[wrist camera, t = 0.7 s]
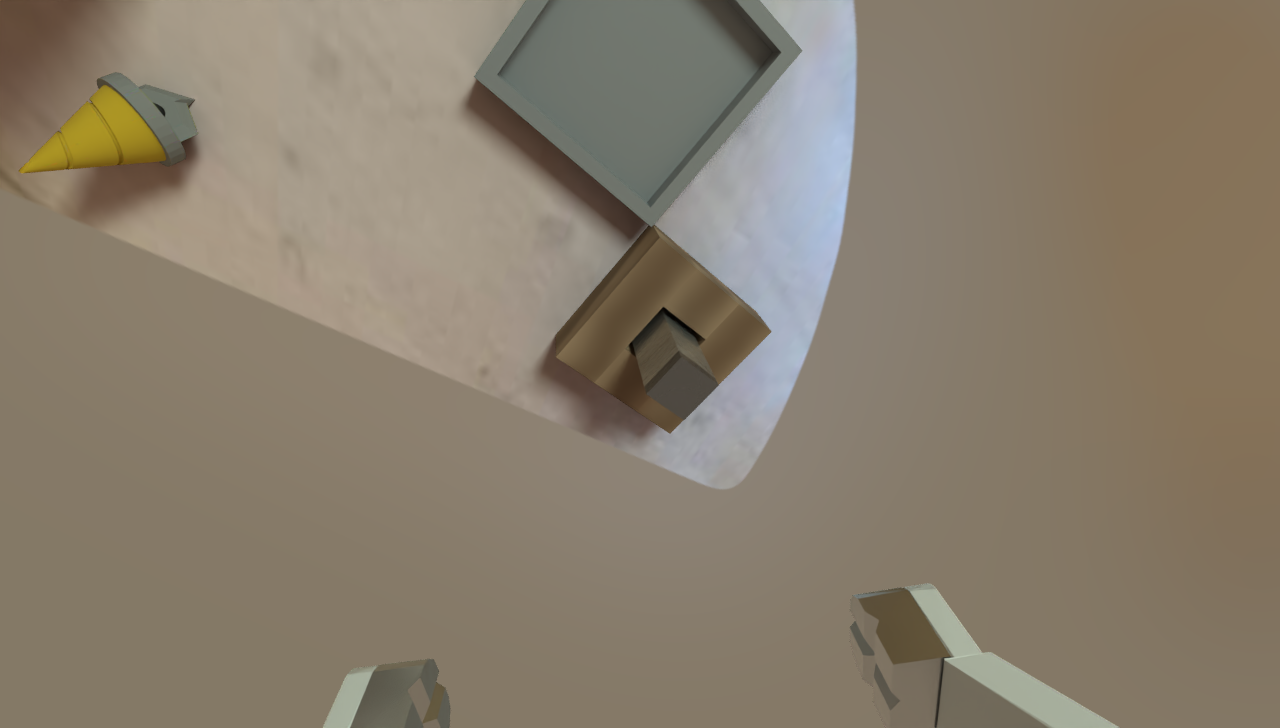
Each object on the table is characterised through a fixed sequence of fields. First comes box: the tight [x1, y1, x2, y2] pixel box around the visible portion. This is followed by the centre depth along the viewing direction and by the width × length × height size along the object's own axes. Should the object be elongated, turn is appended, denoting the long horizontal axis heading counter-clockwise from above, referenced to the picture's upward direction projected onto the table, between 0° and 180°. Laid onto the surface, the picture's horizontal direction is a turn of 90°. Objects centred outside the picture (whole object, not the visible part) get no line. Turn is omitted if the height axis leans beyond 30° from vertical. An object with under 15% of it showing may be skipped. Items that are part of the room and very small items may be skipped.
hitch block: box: [556, 225, 771, 433], centre depth 47 cm, size 12×12×4 cm
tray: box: [474, 0, 802, 227], centre depth 39 cm, size 15×15×2 cm
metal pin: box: [632, 307, 718, 420], centre depth 44 cm, size 4×4×11 cm
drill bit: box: [19, 72, 198, 173], centre depth 35 cm, size 5×5×10 cm
